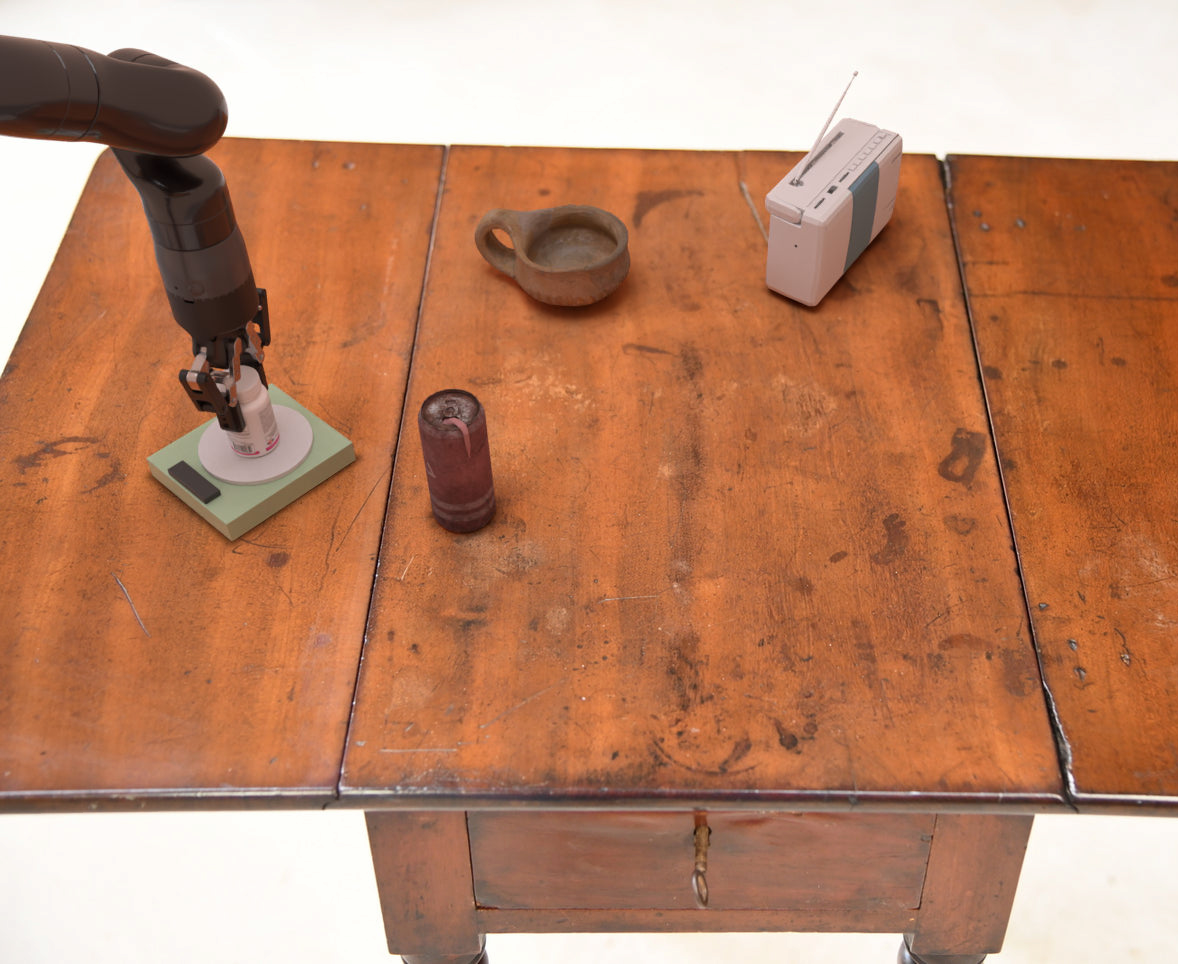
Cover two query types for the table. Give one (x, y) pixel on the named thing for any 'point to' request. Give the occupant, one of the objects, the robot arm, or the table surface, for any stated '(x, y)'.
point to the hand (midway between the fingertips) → (245, 410)
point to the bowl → (558, 251)
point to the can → (457, 459)
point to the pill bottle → (253, 416)
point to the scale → (251, 467)
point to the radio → (831, 207)
